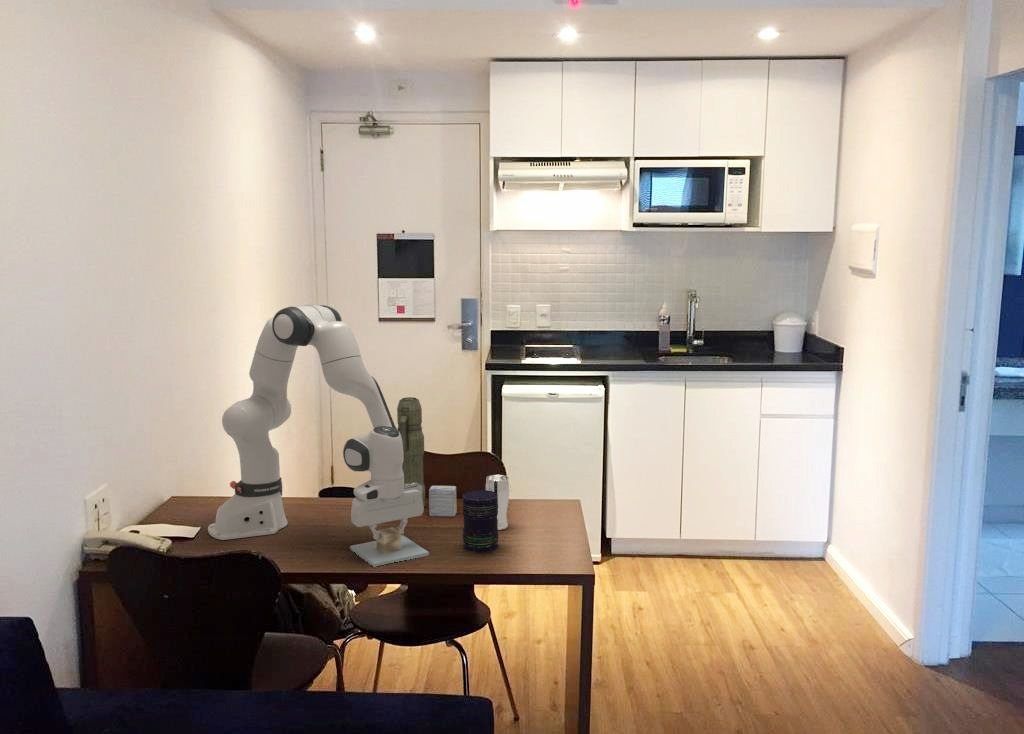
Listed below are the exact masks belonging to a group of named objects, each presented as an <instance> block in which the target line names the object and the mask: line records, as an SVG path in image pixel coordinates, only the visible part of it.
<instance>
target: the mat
mask: <svg viewBox="0 0 1024 734" xmlns="http://www.w3.org/2000/svg"><path fill="white" fill-rule="evenodd" d="M350 549H351V550H350ZM349 550H350V551H352V552H353V553H354V552H355V553H356V555H357V556H358V555H359V556H358V557H360V558H361V559H362V560H363V559H364V560H363V561H364V562H365V563H367V562H368V563H367V564H368V565H370V566H371V565H372V566H373V568H374V567H375V568H377V567H376V566H379V565H384V564H388V563H393V564H395V563H394V562H398V563H400V562H399V561H402V562H405V561H404V560H407V561H411V560H416V559H420V558H424V557H428V556H430V552H429V551H428V550H426V549H424V547H422V546H420V545H419V544H417V543H415V542H414V541H413V540H411V539H409V538H408V537H406V536H405V535H404V534H401V550H399V551H394V552H389V553H383V552H381V551H380V550H379V549H377V544H376V540H373V541H368V542H364V543H359V544H358V543H357V544H353V545H350V546H349ZM355 553H354V554H355ZM415 558H416V559H415ZM410 559H411V560H410ZM372 566H371V567H372ZM384 566H385V565H384Z"/></svg>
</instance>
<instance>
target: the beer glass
mask: <svg viewBox="0 0 1024 734" xmlns="http://www.w3.org/2000/svg"><path fill="white" fill-rule="evenodd" d="M485 480H486V481H485V490H488V491H493V492H496V493H497V494H498V498H497V499H498V515H497V528H498V531H500V530H501V531H503V530H506V529H507V528H508V527H509V526H508V525H509V524H508V517H507V512H508V506H509V499H510V481H509V476H508V475H504V474H491V475H487V476H486V479H485ZM502 529H503V530H502Z"/></svg>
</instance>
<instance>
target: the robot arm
mask: <svg viewBox="0 0 1024 734" xmlns="http://www.w3.org/2000/svg"><path fill="white" fill-rule="evenodd" d="M307 346H313V348H315V349H316V351H317V353H318V356H319V357H318V358H319V361H320V365H321V369H322V375H323V377H324V379H325V382H326V383H327V386H328V387H330V388H331V389H333V390H334V391H335V392H337V393H339V394H341V395H342V394H343V395H347V396H351V397H353V398H356V399H357V400H359V401H360V402H361V403H363V406H364V408H365V409H366V412H367V415H368V417H369V419H370V422H371V424H372V429H371V430H370V431H369V432H367V433H364V434H362V435H358V436H355V437H351V438H350V439H348V440H347V441H346V442H345V444H344V447H343V450H342V456H343V460H344V463H345V465H346V466H347V467H348V469H350V470H351V471H353V472H358V473H359V472H369V473H370V479H369V480H367V481H366V482H363V483H362V484H360V485H358V486H356V487H354V488H353V494H354V496H355V497H354V498H353V499H352V502H351V511H350V520H351V523H352V524H353V525H354V526H355V527H357V528H363V527H368V528H369V529H370V531H371V532H372V539H374V541H376V539H380V538H381V537H380V535H381V533H380V532H379V531H376V530H377V529H376V528H378V524H383V523H389V522H393V521H400V524H398V525H399V526H397V527H395V529H396V530H398V531H400V532H401V535H404V534H405V528H406V525H407V524H408V522H409V521H408V518H409V519H410V518H415V517H420V516H422V515H423V513H424V512H425V511H424V510H425V508H424V506H423V499H422V493H423V490H422V486H421V485H420V484H418V483H417V482H414V483H410V484H404V473H403V470H402V464H403V460H404V456H403V453H404V441H403V439H402V437H401V434H400V432H399V431H398V427H396V425H395V422H394V419H393V417H392V414H391V412H390V410H389V407H388V404H387V402H386V400H385V397H384V394H383V392H382V390H381V387H380V385H379V383H378V381H377V380H376V378H374V377H373V376H372V375H371V374H370V373H369V371H368V370H367V368H366V367H365V365H364V361H363V359H362V354H361V351H360V348H359V345H358V342H357V339H356V337H355V335H354V332H353V330H352V328H351V327H350V325H349V324H348V323H346V322H344V321H342V317H341V315H340V313H339V312H338V311H337V310H336V309H334V307H331V306H328V305H325V304H324V305H323V304H321V305H316V304H304V305H297V306H288V307H284V308H282V309H280V310H278V311H277V312H276V313H275V314H274V316H273V317H271V318H269V319H267V321H266V322H265V324H264V326H263V328H262V330H261V333H260V335H259V337H258V340H257V343H256V347H255V350H254V354H253V357H252V362H251V365H250V368H249V372H248V375H249V378H250V380H251V381H252V383H253V385H252V386H253V391H252V394H251V395H250V397H248V398H245V399H243V400H239V401H237V402H234V404H232V405H230V406H229V407H227V409H226V410H224V412H223V415H222V420H221V424H222V427H223V430H224V432H225V433H226V434H227V435H228V436H229V437H230V438H232V440H233V442H234V444H235V446H236V448H237V452H238V455H239V465H240V467H239V468H240V480H239V481H238V482H236V481H235V480H232V481H231V482H230V483H229V487H230V488H231V489H233V490H234V494H233V495H232V496H231V497H230V498H229V499H227V500H226V501H225V502H224V503H223V504H221V505H220V506H219V507H218V509H217V511H216V516H215V522H213V523H211V524H209V525H208V526H207V533H208V534H209V535H210V536H211V537H213V539H217V540H221V541H224V540H226V541H227V540H235V539H241V538H249V537H250V538H251V537H258V536H260V537H261V536H266V535H273V534H277V532H278V531H279V530H282V528H285V527H286V526H287V525H288V520H287V518H286V517H287V516H286V514H285V510H284V504H283V498H282V496H283V481H282V477H281V475H280V473H281V472H280V468H281V467H280V454H279V451H278V450H277V448H276V447H273V445H272V443H271V438H270V435H269V432H270V431H272V430H274V429H277V428H279V427H281V426H282V425H284V423H285V422H286V421H288V419H289V418H290V416H291V415H292V404H291V403H290V400H289V398H288V385H289V384H288V383H289V379H290V375H291V371H292V368H293V364H294V360H295V356H296V354H297V350H298V347H307ZM418 485H419V486H418Z"/></svg>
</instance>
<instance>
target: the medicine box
mask: <svg viewBox="0 0 1024 734" xmlns="http://www.w3.org/2000/svg"><path fill="white" fill-rule="evenodd" d="M428 505H429V507H428V508H429V515H430V516H429V515H428V516H429V517H456V514H457V510H458V508H457V486H455V485H431V486H430V487H429V489H428Z"/></svg>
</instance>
